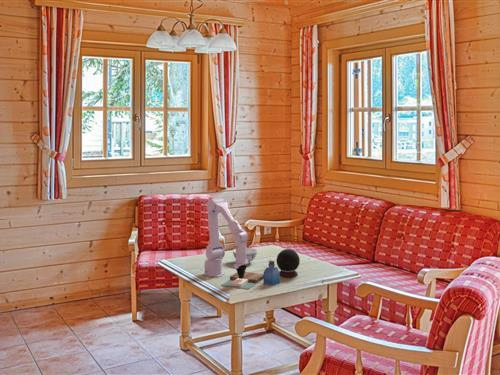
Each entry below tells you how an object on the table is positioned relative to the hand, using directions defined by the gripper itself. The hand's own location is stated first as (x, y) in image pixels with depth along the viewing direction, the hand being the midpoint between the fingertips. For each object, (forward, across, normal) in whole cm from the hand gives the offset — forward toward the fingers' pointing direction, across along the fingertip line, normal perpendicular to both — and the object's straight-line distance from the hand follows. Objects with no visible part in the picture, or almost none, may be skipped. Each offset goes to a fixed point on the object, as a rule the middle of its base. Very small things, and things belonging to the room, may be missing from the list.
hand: (241, 278), depth 300 cm
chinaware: (+3, +39, +15) cm, 42 cm away
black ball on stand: (+3, +25, -18) cm, 31 cm away
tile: (+2, -2, 0) cm, 3 cm away
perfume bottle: (+3, +7, -15) cm, 17 cm away
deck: (+3, +9, 0) cm, 9 cm away
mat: (+3, -3, 0) cm, 4 cm away
